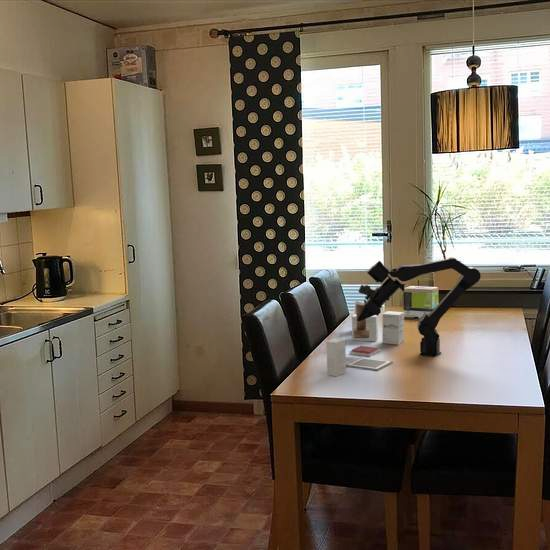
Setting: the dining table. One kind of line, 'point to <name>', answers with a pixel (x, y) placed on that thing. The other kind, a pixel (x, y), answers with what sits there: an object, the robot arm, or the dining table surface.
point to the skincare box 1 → (336, 357)
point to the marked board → (369, 364)
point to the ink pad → (365, 351)
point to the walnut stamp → (360, 324)
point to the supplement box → (393, 327)
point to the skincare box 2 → (370, 322)
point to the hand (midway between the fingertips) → (357, 319)
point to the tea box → (419, 300)
